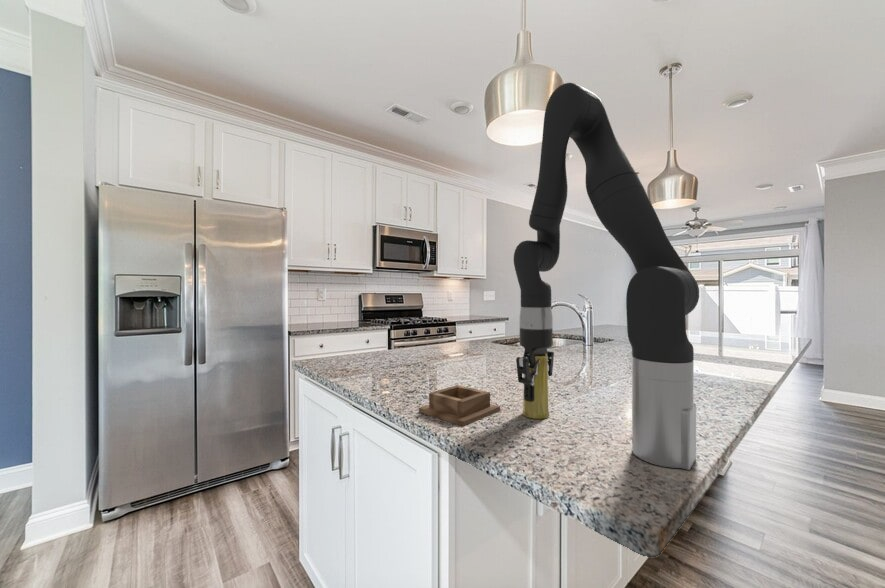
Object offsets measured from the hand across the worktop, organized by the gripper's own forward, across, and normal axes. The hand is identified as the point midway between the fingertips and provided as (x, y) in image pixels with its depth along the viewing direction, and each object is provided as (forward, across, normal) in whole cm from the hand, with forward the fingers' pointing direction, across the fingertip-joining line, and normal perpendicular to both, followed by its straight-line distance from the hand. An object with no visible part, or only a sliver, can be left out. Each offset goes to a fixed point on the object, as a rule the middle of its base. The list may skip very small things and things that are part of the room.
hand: (536, 397), depth 86 cm
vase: (+4, 0, 0) cm, 4 cm away
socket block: (+4, -10, +15) cm, 18 cm away
